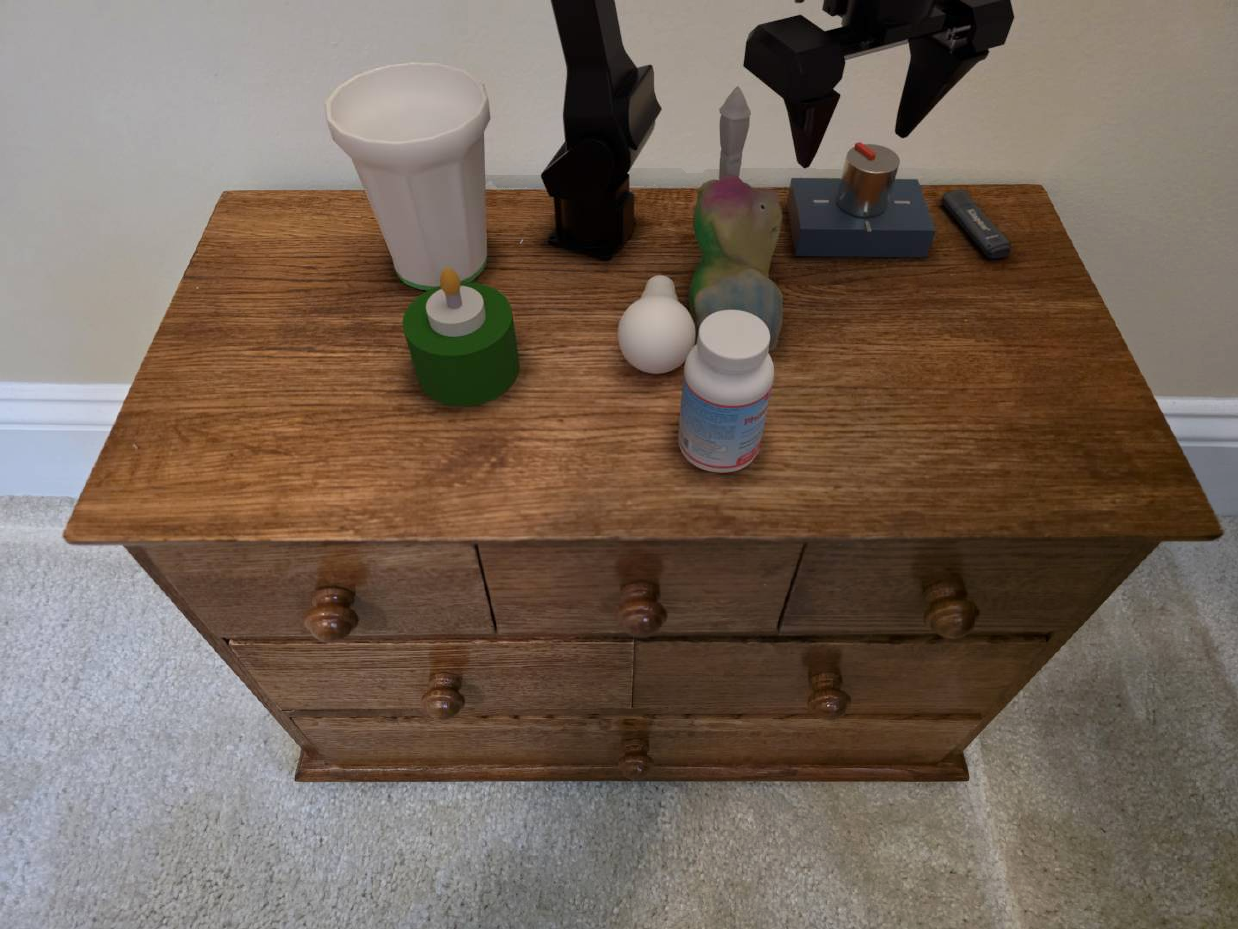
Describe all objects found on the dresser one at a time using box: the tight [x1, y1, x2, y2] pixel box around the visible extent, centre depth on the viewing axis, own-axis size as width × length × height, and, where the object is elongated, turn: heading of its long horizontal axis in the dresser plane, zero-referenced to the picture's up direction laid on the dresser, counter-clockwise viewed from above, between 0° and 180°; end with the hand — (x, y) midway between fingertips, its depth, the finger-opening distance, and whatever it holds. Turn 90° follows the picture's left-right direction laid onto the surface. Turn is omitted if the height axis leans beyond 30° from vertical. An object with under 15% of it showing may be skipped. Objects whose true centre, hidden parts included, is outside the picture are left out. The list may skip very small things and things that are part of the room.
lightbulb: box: [617, 274, 695, 375], centre depth 65 cm, size 6×6×11 cm
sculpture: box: [688, 174, 784, 353], centre depth 66 cm, size 15×8×10 cm, turn 3°
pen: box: [718, 85, 752, 180], centre depth 71 cm, size 2×3×14 cm
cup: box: [324, 61, 491, 291], centre depth 68 cm, size 12×12×15 cm
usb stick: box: [940, 189, 1012, 259], centre depth 76 cm, size 10×3×2 cm, turn 14°
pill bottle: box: [677, 310, 775, 474], centre depth 56 cm, size 6×6×11 cm
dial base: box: [785, 177, 937, 259], centre depth 75 cm, size 12×9×3 cm
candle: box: [401, 268, 521, 407], centre depth 62 cm, size 8×8×10 cm
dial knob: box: [836, 141, 901, 217], centre depth 72 cm, size 5×5×5 cm
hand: (852, 149), depth 62 cm, fingers open, 9 cm apart
